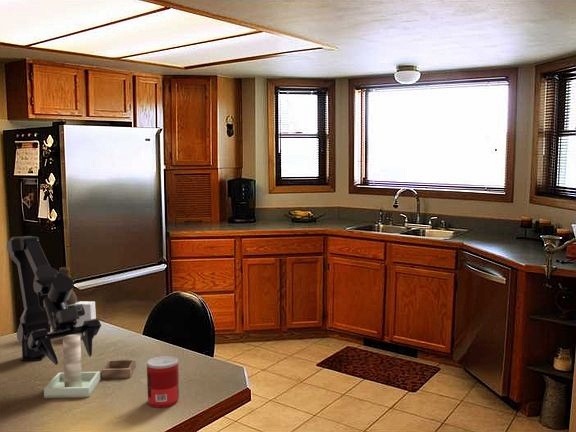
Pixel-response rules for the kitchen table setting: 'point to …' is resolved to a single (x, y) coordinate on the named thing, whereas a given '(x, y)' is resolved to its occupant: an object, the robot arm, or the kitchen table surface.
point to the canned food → (162, 381)
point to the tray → (60, 391)
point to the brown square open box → (119, 368)
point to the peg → (72, 361)
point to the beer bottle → (72, 297)
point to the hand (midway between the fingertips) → (74, 359)
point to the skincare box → (86, 313)
